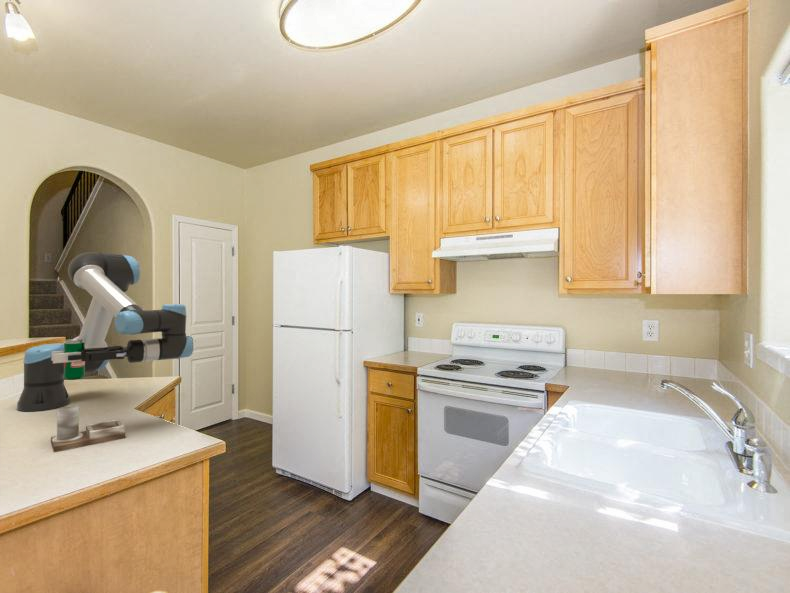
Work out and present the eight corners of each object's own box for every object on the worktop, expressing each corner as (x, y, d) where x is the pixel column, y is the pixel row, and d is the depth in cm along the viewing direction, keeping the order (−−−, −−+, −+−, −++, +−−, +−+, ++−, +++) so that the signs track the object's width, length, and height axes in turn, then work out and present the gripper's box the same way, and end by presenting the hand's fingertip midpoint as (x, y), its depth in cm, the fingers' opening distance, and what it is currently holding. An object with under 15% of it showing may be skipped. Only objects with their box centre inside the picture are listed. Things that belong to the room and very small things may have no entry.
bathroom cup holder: (118, 429, 132) (119, 397, 132) (125, 437, 125) (126, 404, 125) (50, 441, 120) (51, 406, 120) (53, 452, 113) (54, 414, 113)
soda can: (72, 380, 121) (73, 340, 121) (59, 379, 122) (59, 340, 122) (88, 377, 126) (89, 338, 126) (75, 376, 127) (76, 338, 127)
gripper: (148, 365, 130) (54, 374, 114) (136, 358, 143) (49, 365, 127) (149, 342, 130) (54, 348, 114) (136, 337, 143) (50, 341, 127)
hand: (52, 357), depth 120 cm, fingers closed on soda can, 5 cm apart
